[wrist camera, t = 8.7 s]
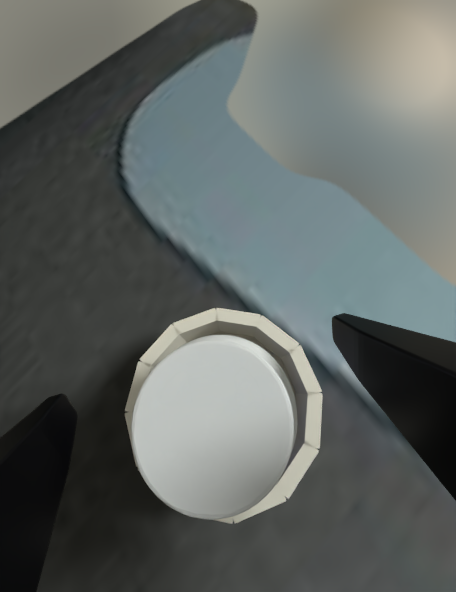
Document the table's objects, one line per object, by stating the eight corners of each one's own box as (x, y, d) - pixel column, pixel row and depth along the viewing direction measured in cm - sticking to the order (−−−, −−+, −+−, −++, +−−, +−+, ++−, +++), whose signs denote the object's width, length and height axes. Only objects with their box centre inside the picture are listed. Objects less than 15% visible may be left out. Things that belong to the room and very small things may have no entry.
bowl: (172, 523, 14) (154, 562, 11) (131, 353, 18) (107, 344, 14) (334, 453, 15) (361, 470, 12) (267, 303, 18) (274, 284, 15)
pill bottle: (187, 468, 15) (103, 596, 5) (172, 368, 16) (92, 336, 7) (283, 444, 15) (360, 528, 6) (259, 348, 17) (287, 293, 7)
